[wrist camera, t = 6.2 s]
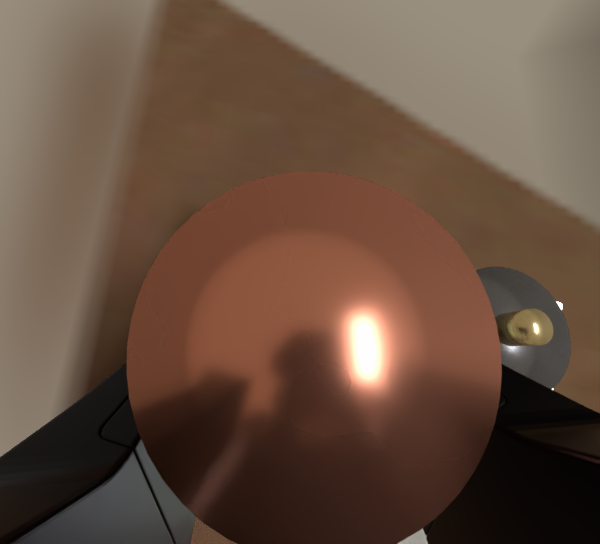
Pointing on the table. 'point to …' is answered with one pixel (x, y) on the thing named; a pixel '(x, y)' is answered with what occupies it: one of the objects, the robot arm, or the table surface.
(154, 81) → the table surface
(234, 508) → the glass spice jar
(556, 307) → the plate
